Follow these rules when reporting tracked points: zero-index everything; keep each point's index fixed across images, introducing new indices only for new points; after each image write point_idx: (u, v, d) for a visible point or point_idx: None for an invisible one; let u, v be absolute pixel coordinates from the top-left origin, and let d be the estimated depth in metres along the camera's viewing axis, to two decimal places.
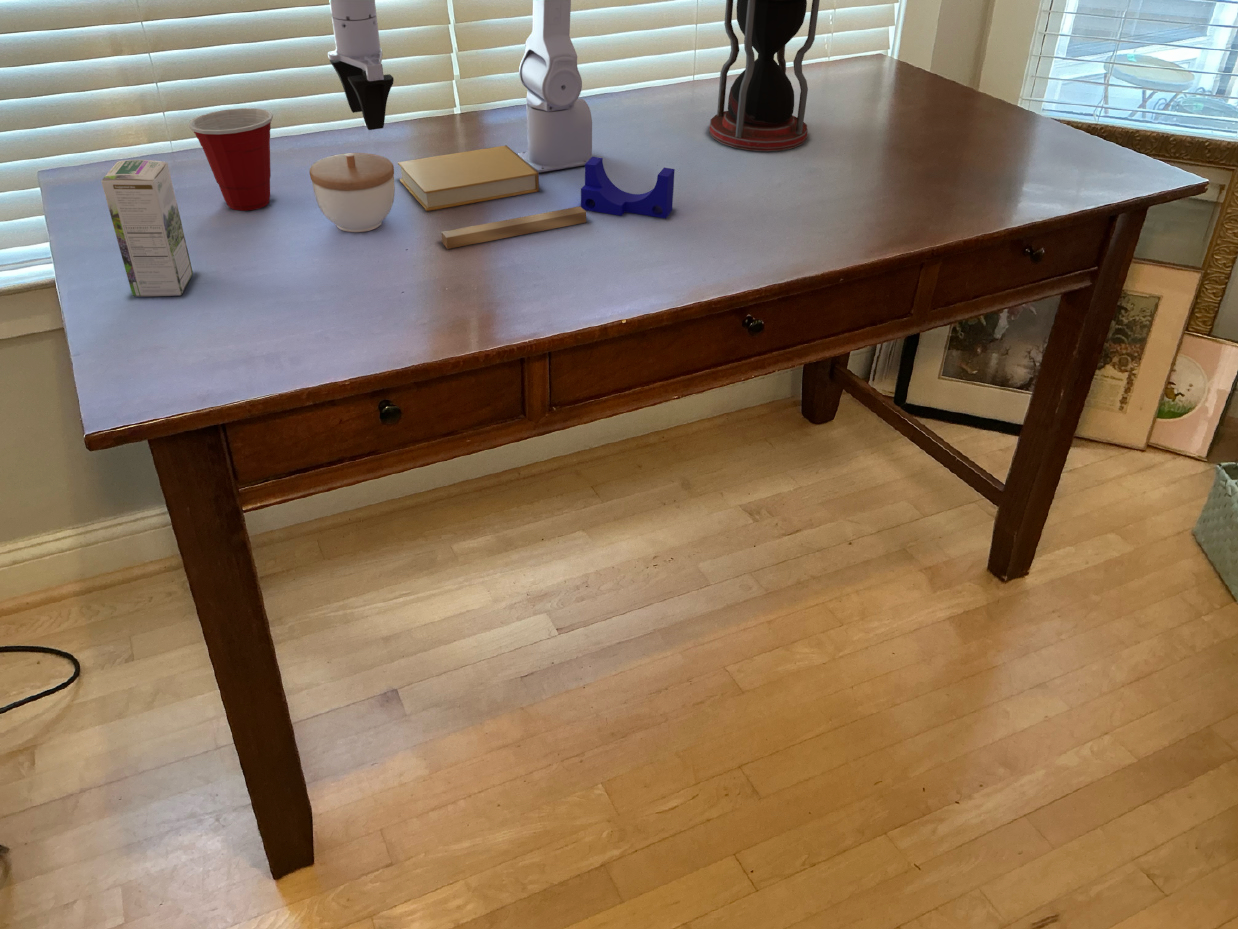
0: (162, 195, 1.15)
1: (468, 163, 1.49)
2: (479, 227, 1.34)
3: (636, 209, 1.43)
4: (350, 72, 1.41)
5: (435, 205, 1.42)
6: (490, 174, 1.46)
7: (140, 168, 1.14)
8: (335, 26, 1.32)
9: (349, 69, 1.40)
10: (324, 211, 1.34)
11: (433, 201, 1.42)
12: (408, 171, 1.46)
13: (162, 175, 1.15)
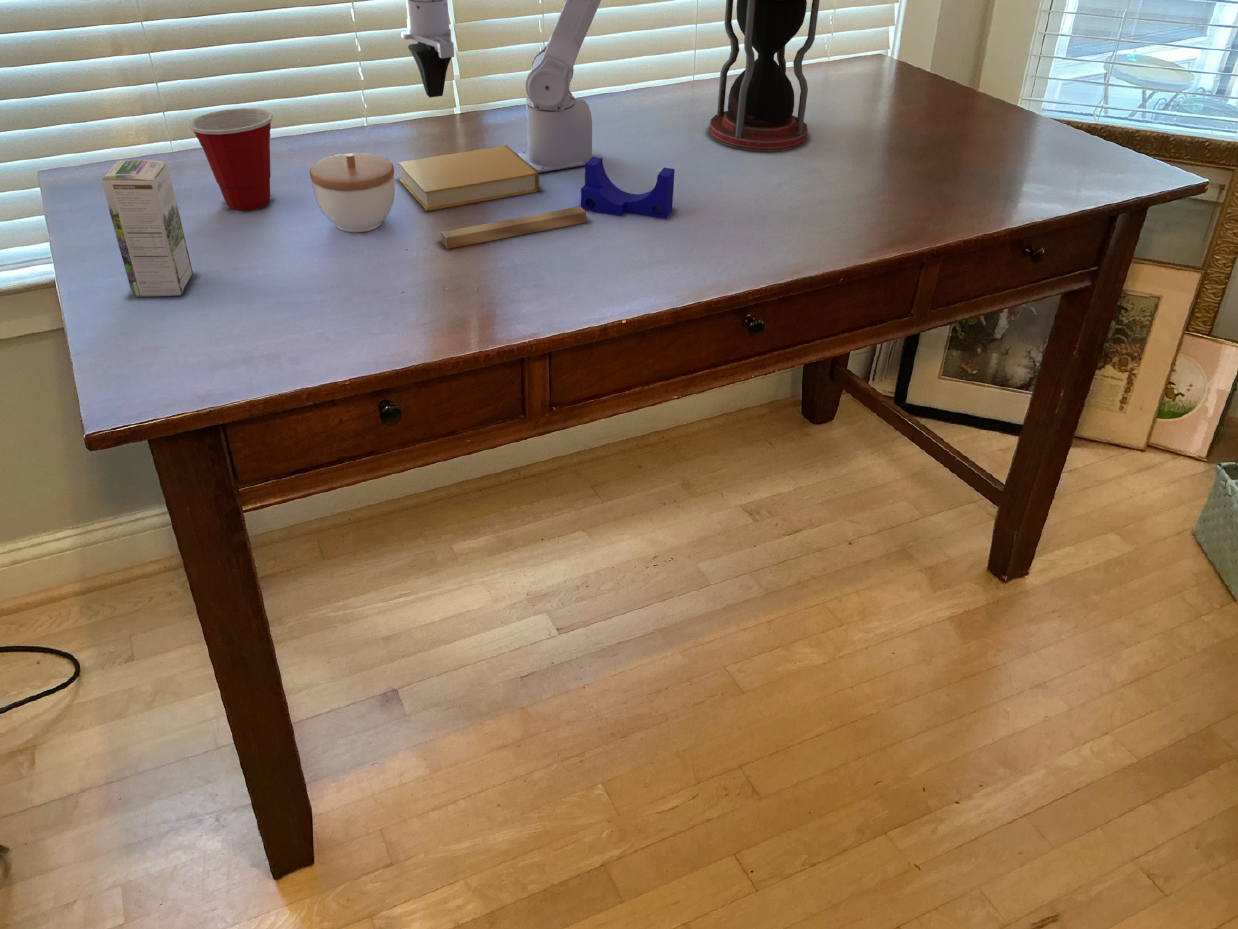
0: (162, 195, 1.15)
1: (468, 163, 1.49)
2: (479, 227, 1.34)
3: (636, 209, 1.43)
4: None
5: (435, 205, 1.42)
6: (490, 174, 1.46)
7: (140, 168, 1.14)
8: (410, 8, 1.43)
9: None
10: (324, 211, 1.34)
11: (433, 201, 1.42)
12: (408, 171, 1.46)
13: (162, 175, 1.15)
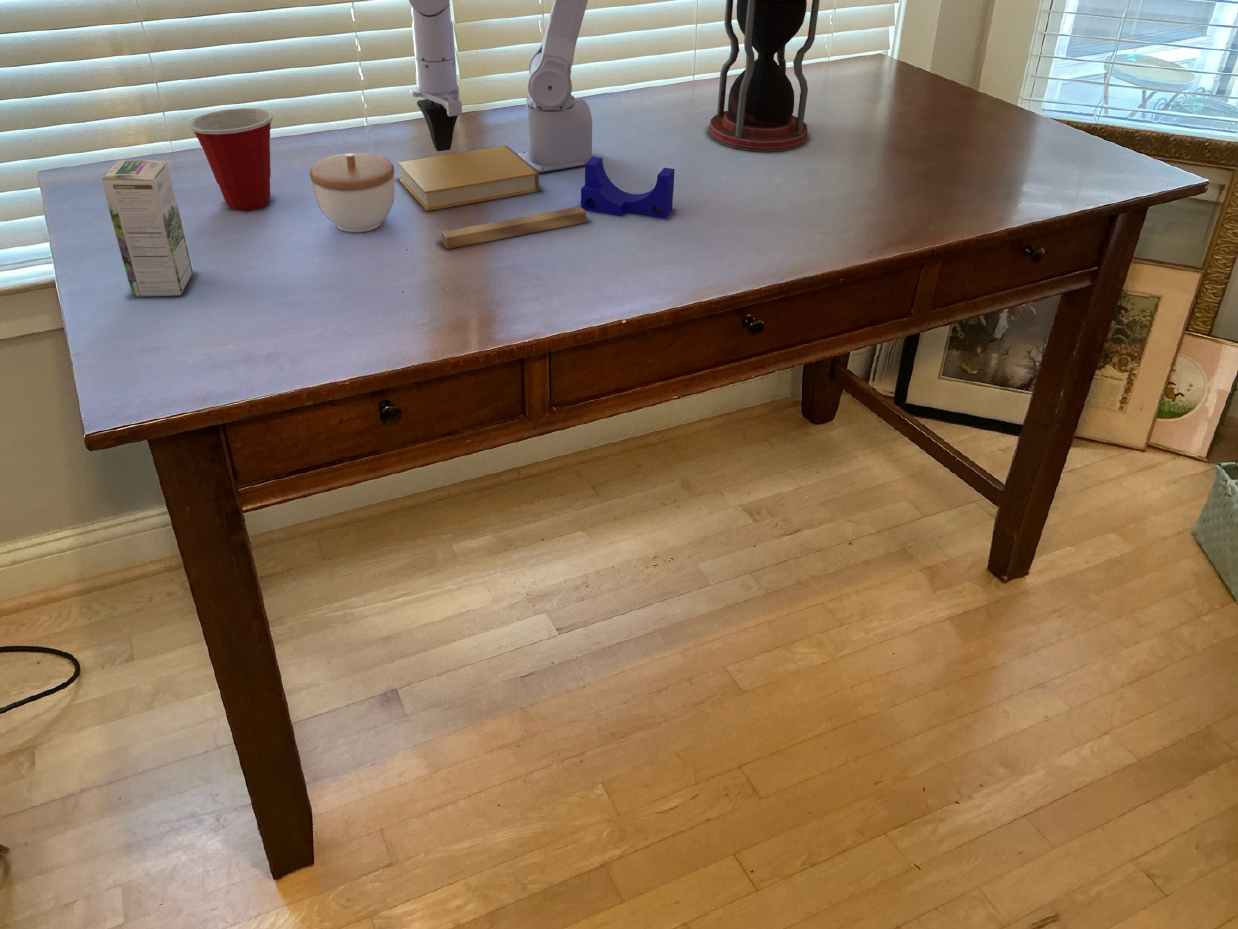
0: (162, 195, 1.15)
1: (468, 163, 1.49)
2: (479, 227, 1.34)
3: (636, 209, 1.43)
4: None
5: (435, 205, 1.42)
6: (490, 174, 1.46)
7: (140, 168, 1.14)
8: (419, 67, 1.47)
9: None
10: (324, 211, 1.34)
11: (433, 201, 1.42)
12: (408, 171, 1.46)
13: (162, 175, 1.15)
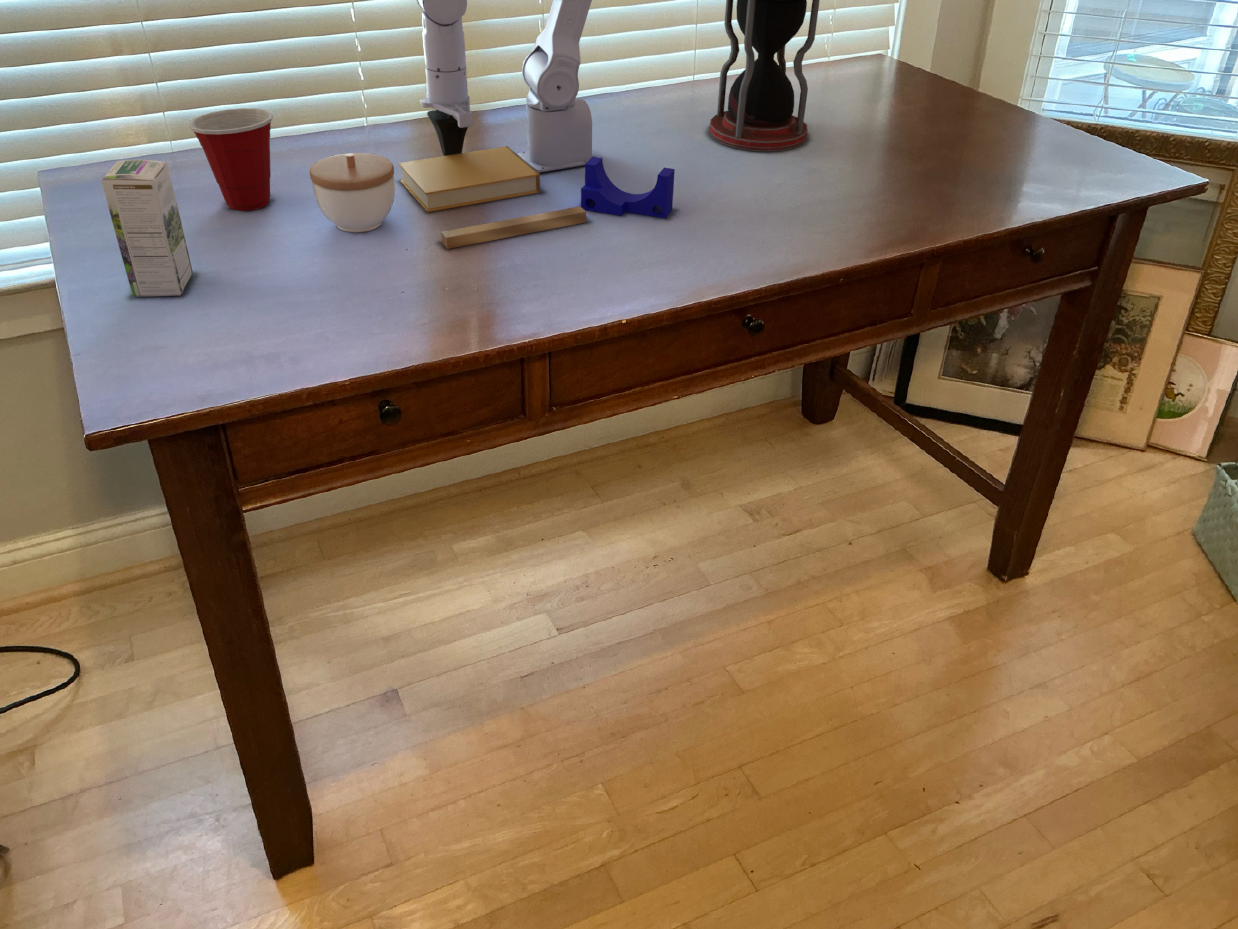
0: (162, 195, 1.15)
1: (469, 164, 1.49)
2: (479, 227, 1.34)
3: (636, 209, 1.43)
4: None
5: (436, 206, 1.42)
6: (491, 175, 1.45)
7: (140, 168, 1.14)
8: (429, 77, 1.44)
9: None
10: (324, 211, 1.34)
11: (434, 202, 1.42)
12: (409, 172, 1.46)
13: (162, 175, 1.15)
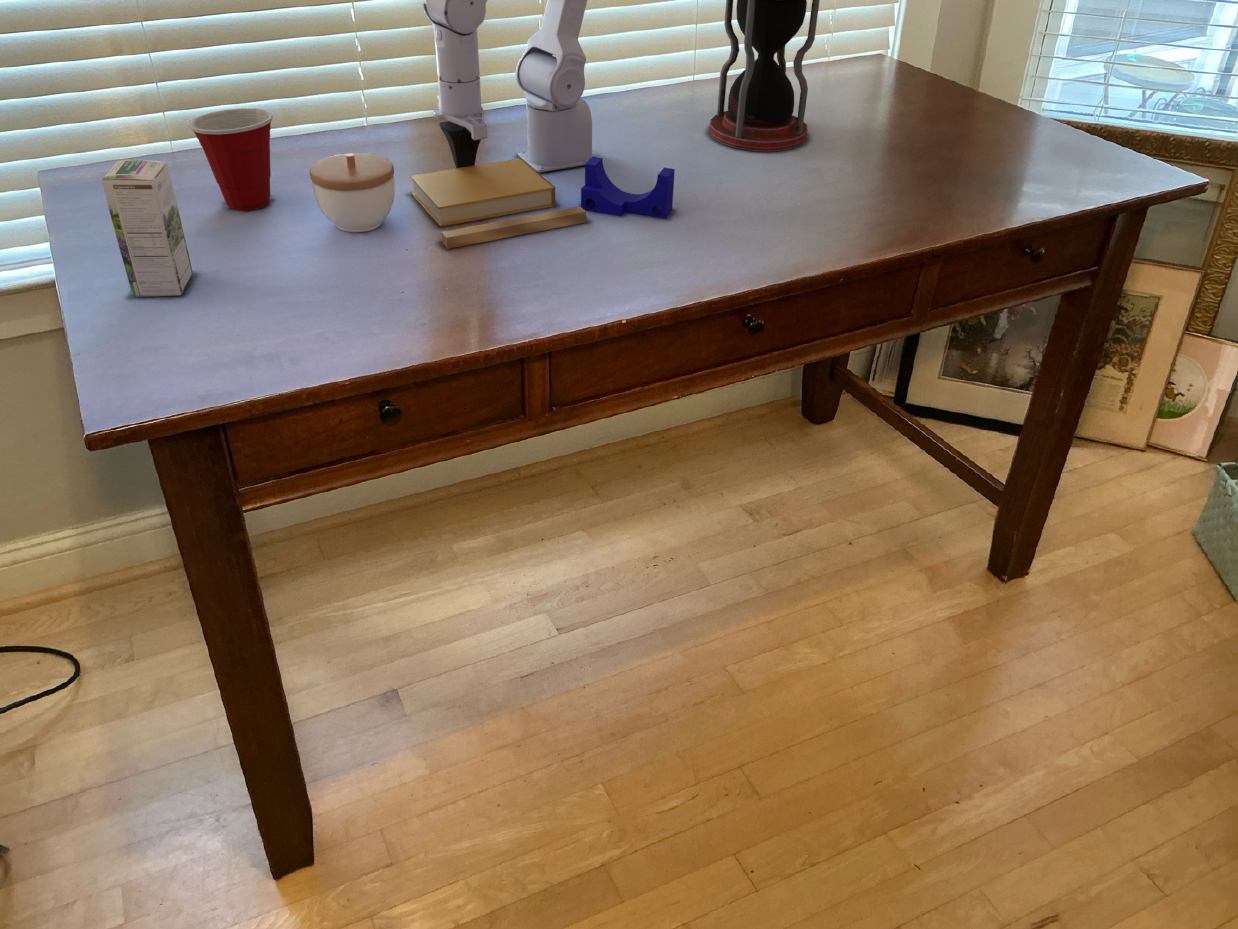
0: (162, 195, 1.15)
1: (482, 177, 1.45)
2: (479, 227, 1.34)
3: (636, 209, 1.43)
4: None
5: (449, 221, 1.38)
6: (505, 188, 1.42)
7: (140, 168, 1.14)
8: (442, 88, 1.40)
9: None
10: (324, 211, 1.34)
11: (447, 217, 1.38)
12: (421, 185, 1.42)
13: (162, 175, 1.15)
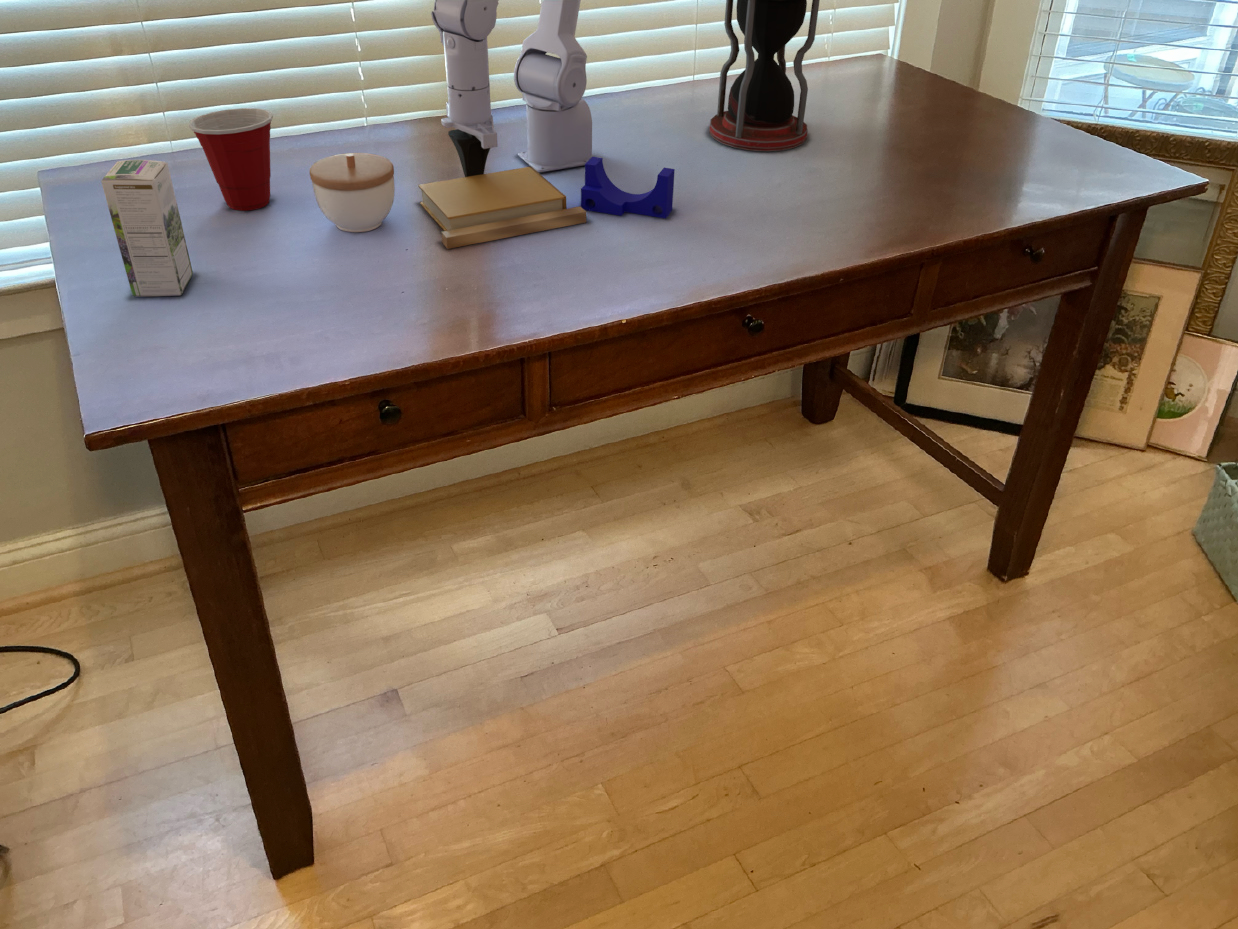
0: (162, 195, 1.15)
1: (492, 186, 1.42)
2: (479, 227, 1.34)
3: (636, 209, 1.43)
4: None
5: None
6: (515, 198, 1.39)
7: (140, 168, 1.14)
8: (451, 96, 1.38)
9: None
10: (324, 211, 1.34)
11: (456, 227, 1.35)
12: (430, 195, 1.39)
13: (162, 175, 1.15)
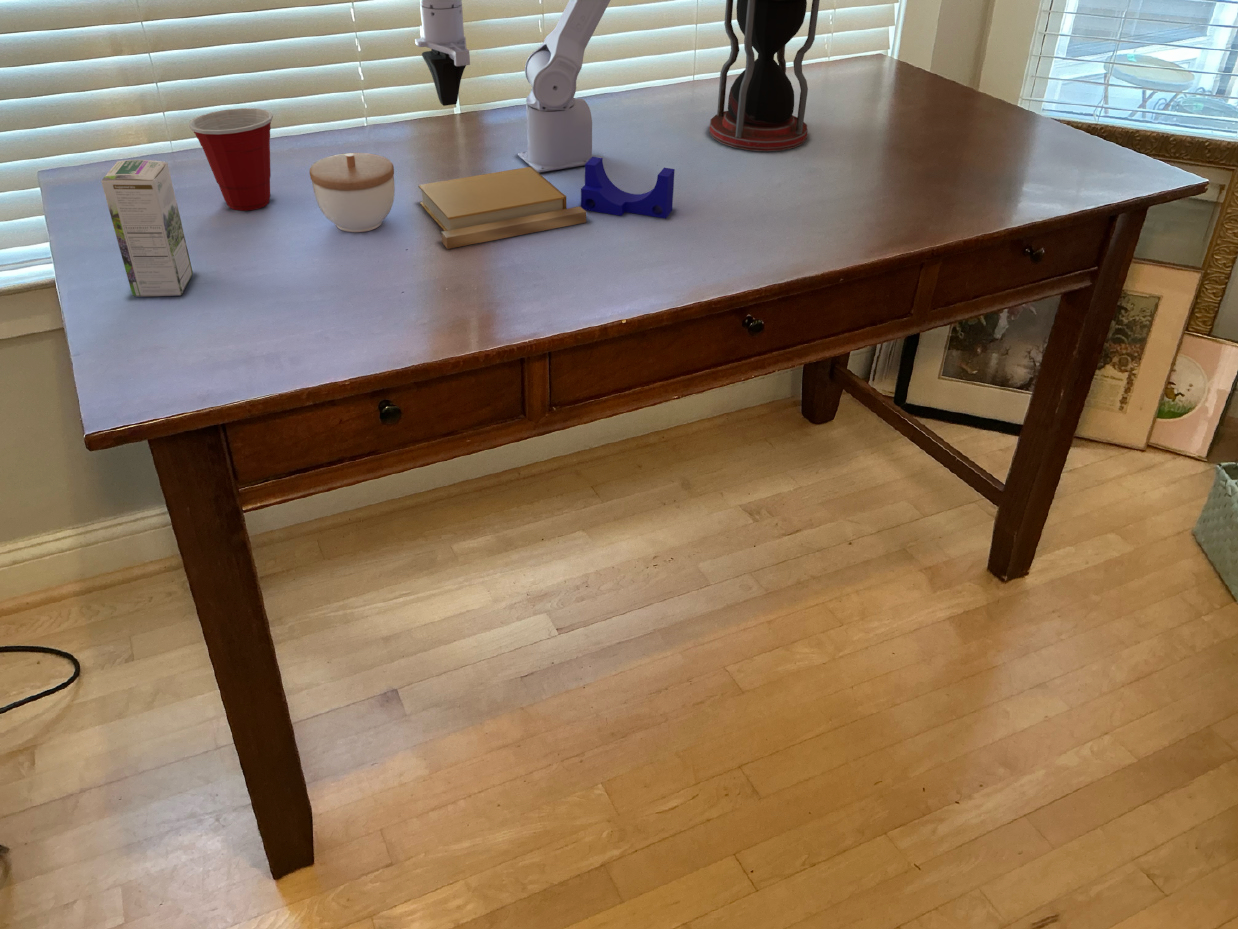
0: (162, 195, 1.15)
1: (492, 186, 1.42)
2: (479, 227, 1.34)
3: (636, 209, 1.43)
4: None
5: None
6: (516, 198, 1.39)
7: (140, 168, 1.14)
8: (424, 15, 1.40)
9: None
10: (324, 211, 1.34)
11: (457, 227, 1.35)
12: (430, 195, 1.39)
13: (162, 175, 1.15)
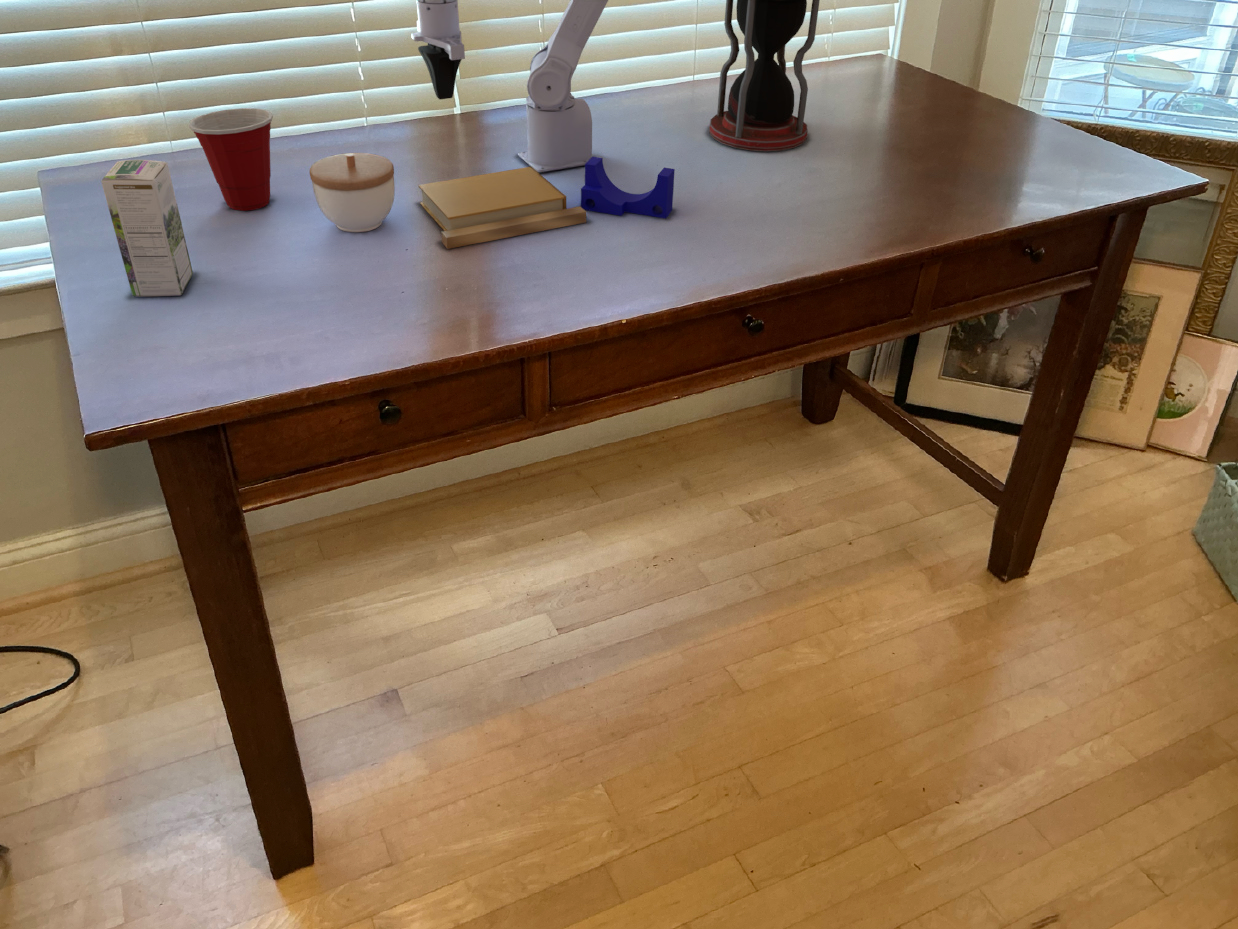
0: (162, 195, 1.15)
1: (492, 186, 1.42)
2: (479, 227, 1.34)
3: (636, 209, 1.43)
4: None
5: None
6: (516, 198, 1.39)
7: (140, 168, 1.14)
8: (420, 9, 1.43)
9: None
10: (324, 211, 1.34)
11: (457, 227, 1.35)
12: (430, 195, 1.39)
13: (162, 175, 1.15)
